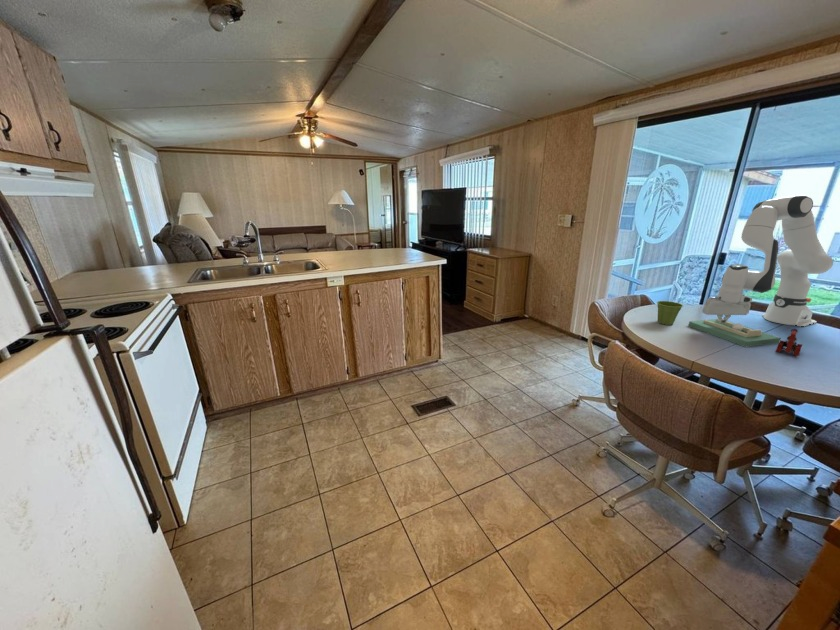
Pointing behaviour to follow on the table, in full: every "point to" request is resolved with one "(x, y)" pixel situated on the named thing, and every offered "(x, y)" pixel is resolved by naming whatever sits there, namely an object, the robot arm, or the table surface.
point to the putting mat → (734, 333)
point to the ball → (737, 326)
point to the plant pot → (668, 311)
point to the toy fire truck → (790, 344)
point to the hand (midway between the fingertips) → (721, 322)
